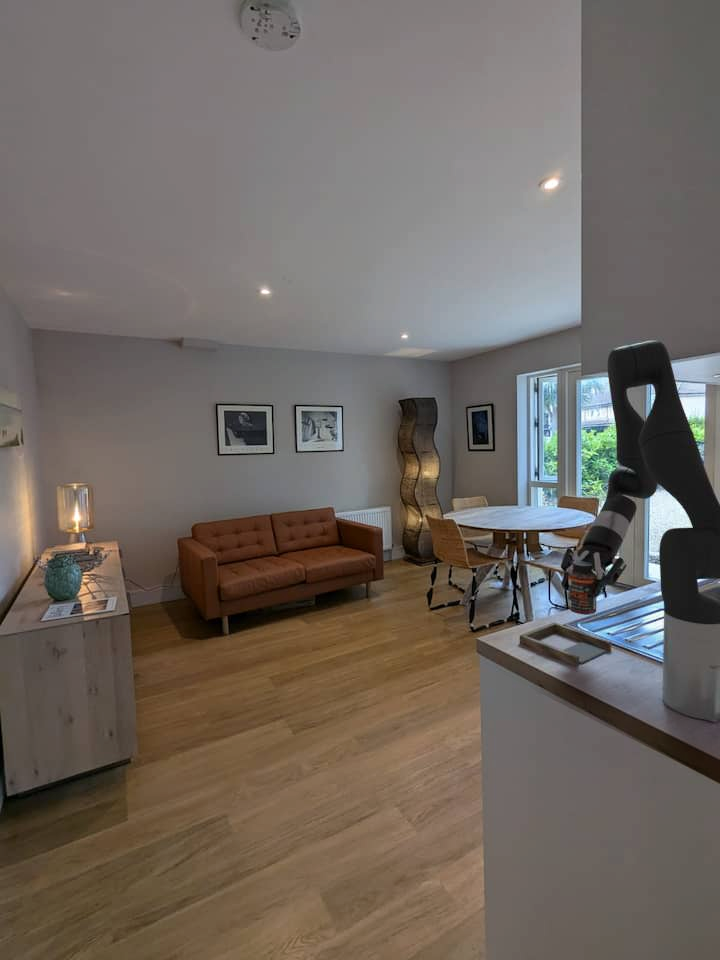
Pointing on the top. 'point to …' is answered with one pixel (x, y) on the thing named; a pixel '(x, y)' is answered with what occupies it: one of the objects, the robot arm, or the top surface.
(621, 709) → the top surface
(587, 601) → the supplement bottle
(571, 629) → the frame
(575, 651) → the front pad
